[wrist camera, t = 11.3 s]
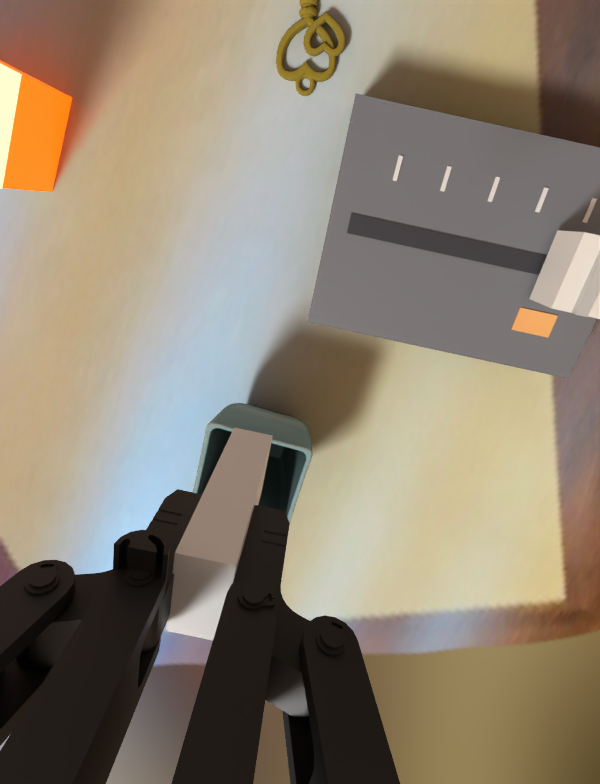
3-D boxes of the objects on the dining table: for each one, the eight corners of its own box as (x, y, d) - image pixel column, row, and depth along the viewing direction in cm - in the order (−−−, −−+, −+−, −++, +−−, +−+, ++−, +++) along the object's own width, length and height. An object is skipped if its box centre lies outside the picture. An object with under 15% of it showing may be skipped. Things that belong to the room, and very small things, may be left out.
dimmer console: (353, 107, 33) (356, 93, 29) (634, 169, 33) (673, 163, 29) (310, 311, 39) (307, 322, 35) (546, 363, 39) (568, 378, 35)
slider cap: (557, 230, 31) (589, 232, 27) (606, 241, 31) (645, 244, 27) (529, 298, 33) (555, 310, 29) (575, 308, 33) (607, 321, 29)
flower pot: (232, 380, 42) (206, 421, 34) (318, 405, 42) (314, 451, 34) (215, 454, 45) (188, 508, 37) (295, 476, 46) (286, 534, 37)
